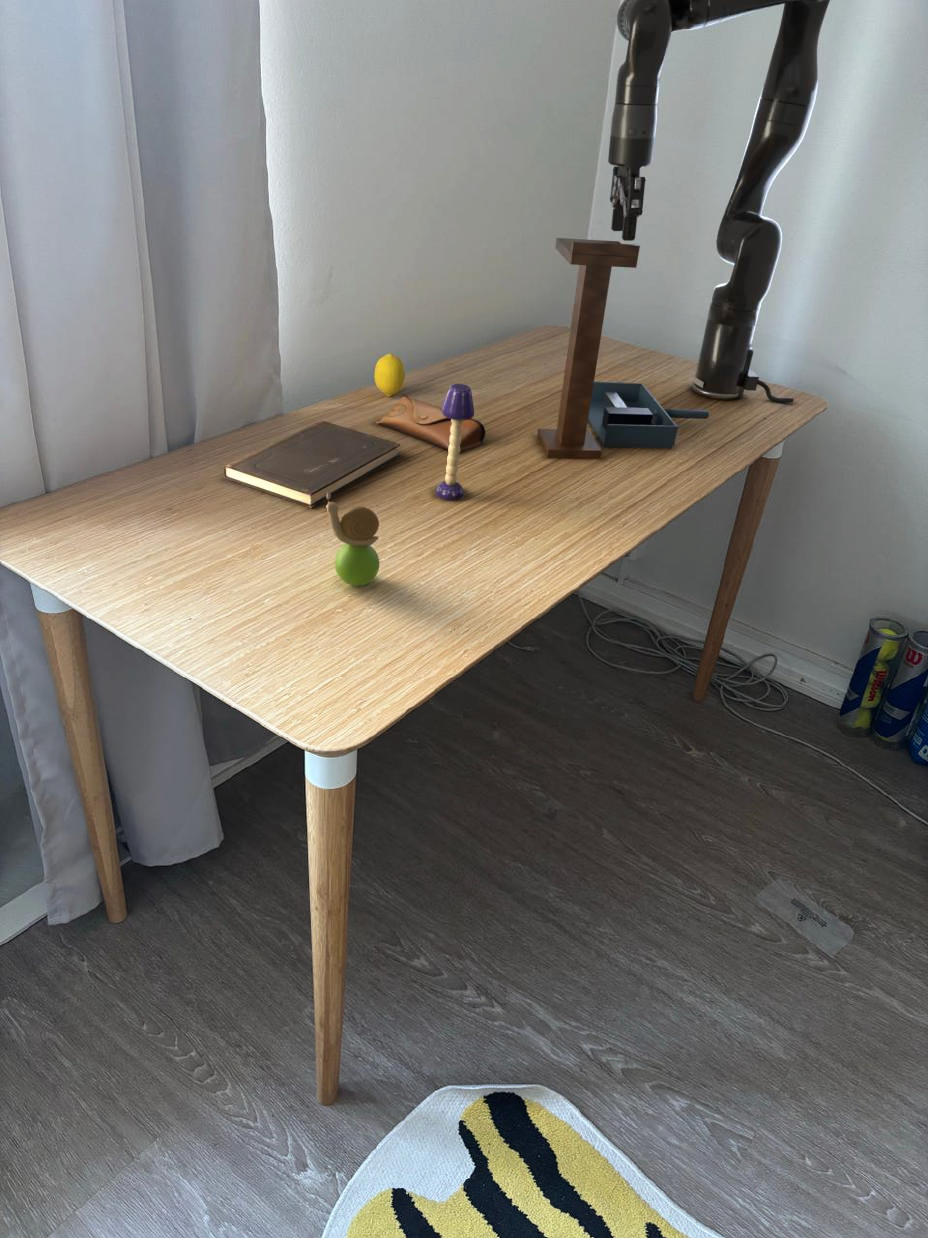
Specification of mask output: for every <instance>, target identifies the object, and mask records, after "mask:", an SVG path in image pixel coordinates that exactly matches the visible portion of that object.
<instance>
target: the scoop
mask: <svg viewBox="0 0 928 1238" xmlns="http://www.w3.org/2000/svg"><path fill="white" fill-rule="evenodd" d="M605 391H612V392H616V393H617V394H618V395H619V397H620V398H621V400H622V401H623V402H624V404H625V405H626V406H627V408H648V409H649V410H650V411H651V413H652V414H653V418H652V423H651V425H621V424H607V429H605V428H604V426H603V425H602V420H603V414H604V408H605V407H606V406H605V405H604V403H603V398H604V392H605ZM710 414H711V413H710V411H709V410H707V409H691V408H690V409H689V408H688V409H685V408H684V409H683V408H664V407H663V406H662V405H661V404H660V403H659V401H658V400H657V399H656V398H655V396H654V395H653V394H652V393H651V392H650V391H649V389H648V388H647V387H646V386H645V384H643V382H617V381H594V385H593V391H592V398H591V404H590V410H589V417H588V423H589V425H590V426H591V428H592V430H593V431H594V433H595V434H596V436H597V437H598V439H599V441H600V443H601V444H602V446H603V447H604V448H605V447H607V448H608V447H609V448H650V449H653V448H654V449H672V447H675V444H676V440H677V435H678V430H679V426H678V425H677V423H676V422H675V421H674V420H673V419H690V420H691V419H693V420H694V419H695V420H696V419H697V420H698V419H699V420H706V419H709V417H710Z"/></svg>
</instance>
